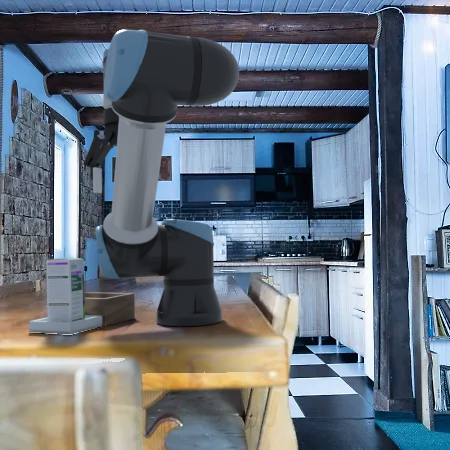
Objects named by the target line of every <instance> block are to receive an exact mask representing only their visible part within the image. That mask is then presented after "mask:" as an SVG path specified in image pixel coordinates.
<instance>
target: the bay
mask: <svg viewBox="0 0 450 450" xmlns="http://www.w3.org/2000/svg"><path fill="white" fill-rule="evenodd" d="M84 294H85V315H97V316H102V325H108V326H110V325H109V324H112V325H115V324H118V322H119V323H122V322H126V321H129V320H134V319H135V318H136V316H135V315H136V314H135V310H136V309H135V293H134V292H133V293H131V292H127V293H126V292H125V293H124V292H89V291H88V292H85V291H84ZM114 323H115V324H114Z"/></svg>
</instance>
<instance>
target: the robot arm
mask: <svg viewBox="0 0 450 450" xmlns="http://www.w3.org/2000/svg"><path fill="white" fill-rule="evenodd" d="M102 57H103V58H102V70H103V72H102V74H103V95H102V96H103V99H102V100H103V101H102V102H103V104H102V105H103V106H102V107H103V109H104V110H103V124H104V130H98V129H94V131H93V138H92V142H91V144H90V146H89V149H88V152H87V154H86V157H85V160H84V162H83V165H84V166H86V167H89V168H90V180H91V181H92V192H93V193H96V194H102V193H103V188H102V187H103V186H102V185H103V180H102V179H103V177H102V176H103V175H102V171H103V169H102V168H101V167H100V166H101V165H102V164H103V161H104V160H105V159H106V157H107V155H108V154H109V153H110V151H111V150H112V149H113V148H114V147H116V154H115V167H114V177H113V179H114V180H113V189H112V204H111V211H110V212H109V214H107V215H106V217H105V218H104V220H103V224H100V225H98V226H96V227H95V236H96V238H95V239H96V248H97V256H98V263H99V264H98V265H99V271H100V274H101V276H102V277H103V278H106V279H118V280H122V279H133V278H134V279H135V278H139V279H140V278H154V277H155V278H156V277H157V278H158V277H163V287H162V288H163V289H162V293H161V297H160V300H159V304H158V307H157V310H156V312H155V314H156V316H155V317H156V318H155V320H156V321H155V322H156V324H159V325H162V326H168V327H169V326H170V327H171V326H172V327H195V326H196V327H199V326H200V327H201V326H208V325H213V324H218V323H221V322H222V321H223V311H222V307H221V304H220V301H219V298H218V295H217V292H216V289H215V276H214V275H215V274H214V273H215V271H214V269H215V267H214V264H215V263H214V246H215V242H214V236H213V229H212V226H210V225H209V224H207V223H205V222H199V221H194V220H187V219H175V218H165V219H163V220H162V222H161V225H159V224H158V221H157V220H156V219H155V217H154V211H155V204H156V197H157V192H158V191H157V190H158V183H159V176H160V171H161V170H160V169H161V162H162V155H163V149H164V140H165V135H166V127H167V124H168V123H170V122H172V121H173V120H174V119H175V118H176V116H177V112H178V106H187V107H192V106H193V107H202V106H209V105H213V104H218V103H219V102H221V101H223V100H225V99H226V98H228V97H229V96H230V95H231V94H232V93H233V92H234V90H235V88H236V87H237V85H238V82H239V77H240V68H239V63H238V60H237V58H236V57H235V55H234V54H233V53H232V52H231V50H229V49H228V48H227V47H225V46H224V45H223V44H221V43H219V42H217V41H214V40H211V39H207V38H205V37H198V36H189V35H182V34H181V35H180V34H172V33H163V32H162V33H161V32H153V31H149V30H148V31H147V30H145V29H140V30H139V29H138V30H137V29H135V30H134V29H121V30H119V31H117V32H116V33H115V34H114V35H113V37H112V39H111V40H110V43H109V47H108V48H106V49H105V50H104V51H103V55H102Z"/></svg>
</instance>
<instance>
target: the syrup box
mask: <svg viewBox="0 0 450 450" xmlns="http://www.w3.org/2000/svg"><path fill="white" fill-rule="evenodd" d="M84 261H85V260H84V258H79V257H68V258H67V257H66V258H63V257H62V258H52V259H47V260H46V262H45V263H46V266H45V269H46V270H45V271H46V302H47V303H46V305H47V307H46V308H47V309H46V310H47V316H46V317H48V321H53V322H73V321H78V320H82V319H85V294H84V293H85V269H84V268H85V266H84V265H85V262H84Z"/></svg>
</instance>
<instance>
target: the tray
mask: <svg viewBox="0 0 450 450" xmlns="http://www.w3.org/2000/svg"><path fill="white" fill-rule="evenodd" d="M28 324H29V328H28V329H29V332H41V333H57V334H74V333H77V332H81V331H85V330H89V329H94V328H97V327H101V326H102V316H97V315H85V319H82V320H78V321H73V322H53V321H48V316H46V317H43V318H38V319H34V320H29V322H28ZM102 327H103V326H102ZM102 327H101V328H102ZM97 329H98V328H97ZM94 330H95V329H94Z"/></svg>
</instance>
